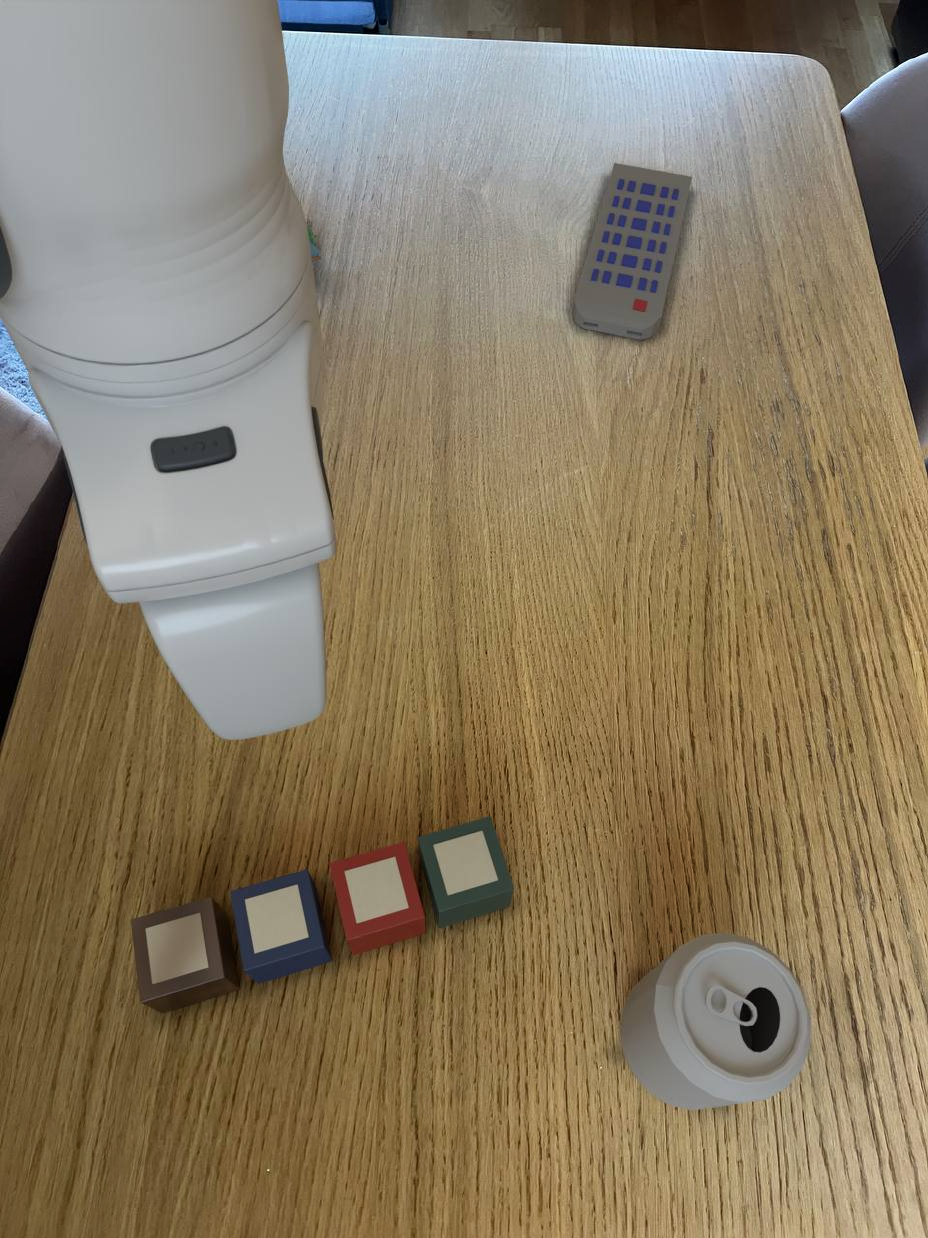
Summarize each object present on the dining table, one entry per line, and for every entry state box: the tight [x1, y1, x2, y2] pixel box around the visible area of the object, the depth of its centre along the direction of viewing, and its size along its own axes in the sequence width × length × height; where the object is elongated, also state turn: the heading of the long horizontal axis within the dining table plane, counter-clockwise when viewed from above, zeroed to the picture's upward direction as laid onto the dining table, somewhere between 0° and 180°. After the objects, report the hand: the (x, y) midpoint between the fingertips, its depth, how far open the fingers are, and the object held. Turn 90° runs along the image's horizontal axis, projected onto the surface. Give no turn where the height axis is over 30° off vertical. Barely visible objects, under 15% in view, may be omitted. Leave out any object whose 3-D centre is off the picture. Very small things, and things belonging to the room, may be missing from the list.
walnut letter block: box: [130, 896, 241, 1014], centre depth 52 cm, size 4×4×5 cm
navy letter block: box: [229, 868, 334, 985], centre depth 53 cm, size 4×4×5 cm
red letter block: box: [328, 841, 427, 956], centre depth 53 cm, size 4×4×5 cm
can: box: [619, 932, 812, 1112], centre depth 47 cm, size 8×8×12 cm
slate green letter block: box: [417, 815, 515, 929], centre depth 54 cm, size 4×4×5 cm
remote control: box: [571, 162, 693, 341], centre depth 86 cm, size 8×23×2 cm, turn 165°
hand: (250, 577), depth 40 cm, fingers open, 8 cm apart
